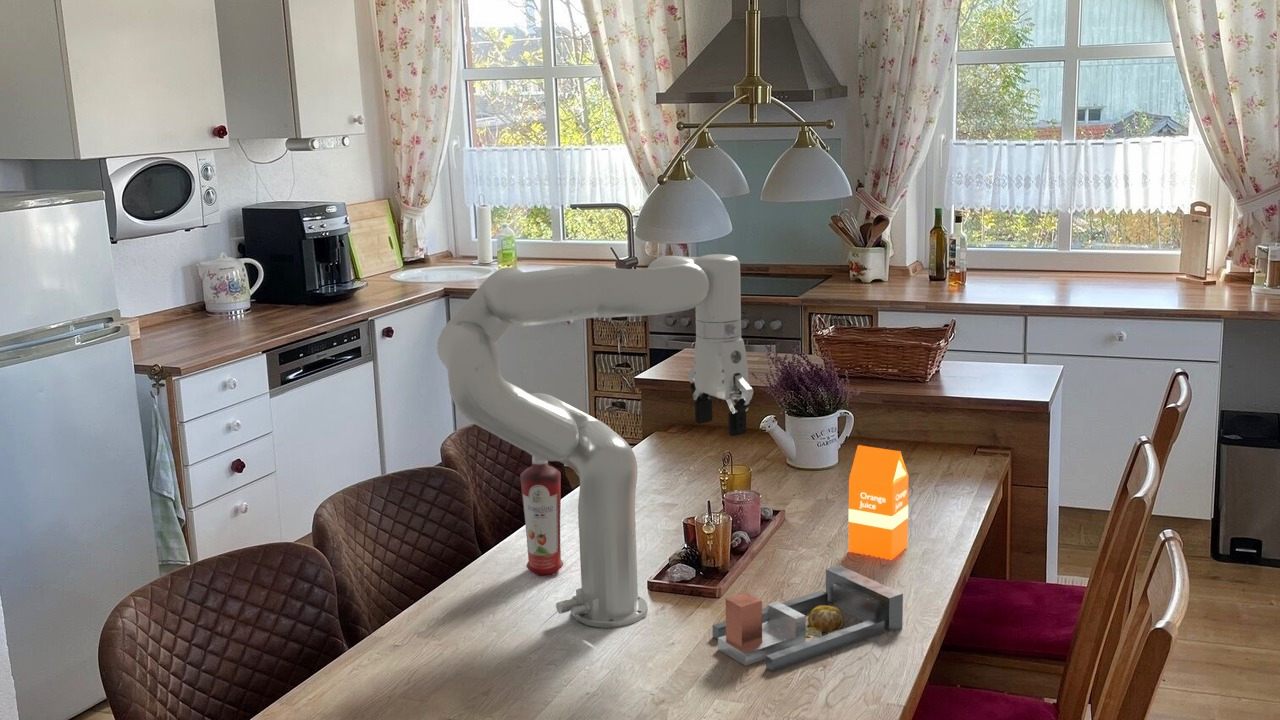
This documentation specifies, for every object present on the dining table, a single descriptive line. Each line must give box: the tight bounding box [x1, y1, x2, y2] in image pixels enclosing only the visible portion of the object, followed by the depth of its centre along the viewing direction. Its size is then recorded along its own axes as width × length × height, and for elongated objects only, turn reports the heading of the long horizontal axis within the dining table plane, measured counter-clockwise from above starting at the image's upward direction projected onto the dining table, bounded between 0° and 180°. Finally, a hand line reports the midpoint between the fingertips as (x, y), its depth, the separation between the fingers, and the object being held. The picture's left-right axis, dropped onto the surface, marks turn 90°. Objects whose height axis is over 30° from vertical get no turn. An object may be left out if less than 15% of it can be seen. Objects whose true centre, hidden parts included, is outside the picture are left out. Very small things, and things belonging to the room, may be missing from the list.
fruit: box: [806, 605, 845, 639], centre depth 201 cm, size 8×8×4 cm
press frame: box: [712, 564, 904, 673], centre depth 199 cm, size 27×15×6 cm, turn 123°
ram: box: [717, 592, 807, 667], centre depth 194 cm, size 12×7×9 cm, turn 123°
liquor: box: [519, 455, 564, 577], centre depth 226 cm, size 7×7×28 cm
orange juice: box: [848, 444, 909, 561], centre depth 232 cm, size 8×9×20 cm
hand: (720, 428), depth 209 cm, fingers open, 9 cm apart
